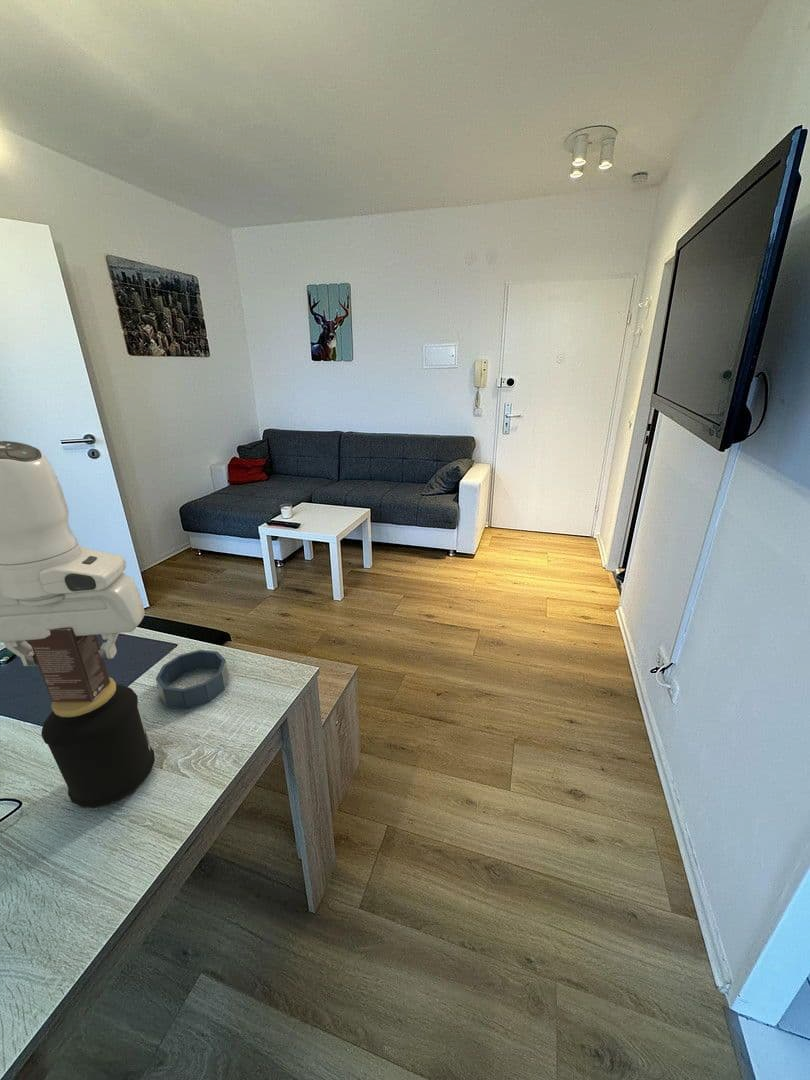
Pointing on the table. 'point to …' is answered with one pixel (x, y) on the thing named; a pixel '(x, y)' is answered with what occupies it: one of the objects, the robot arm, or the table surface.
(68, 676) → the box
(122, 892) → the table surface
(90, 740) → the container
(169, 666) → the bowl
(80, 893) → the table surface
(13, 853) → the table surface
